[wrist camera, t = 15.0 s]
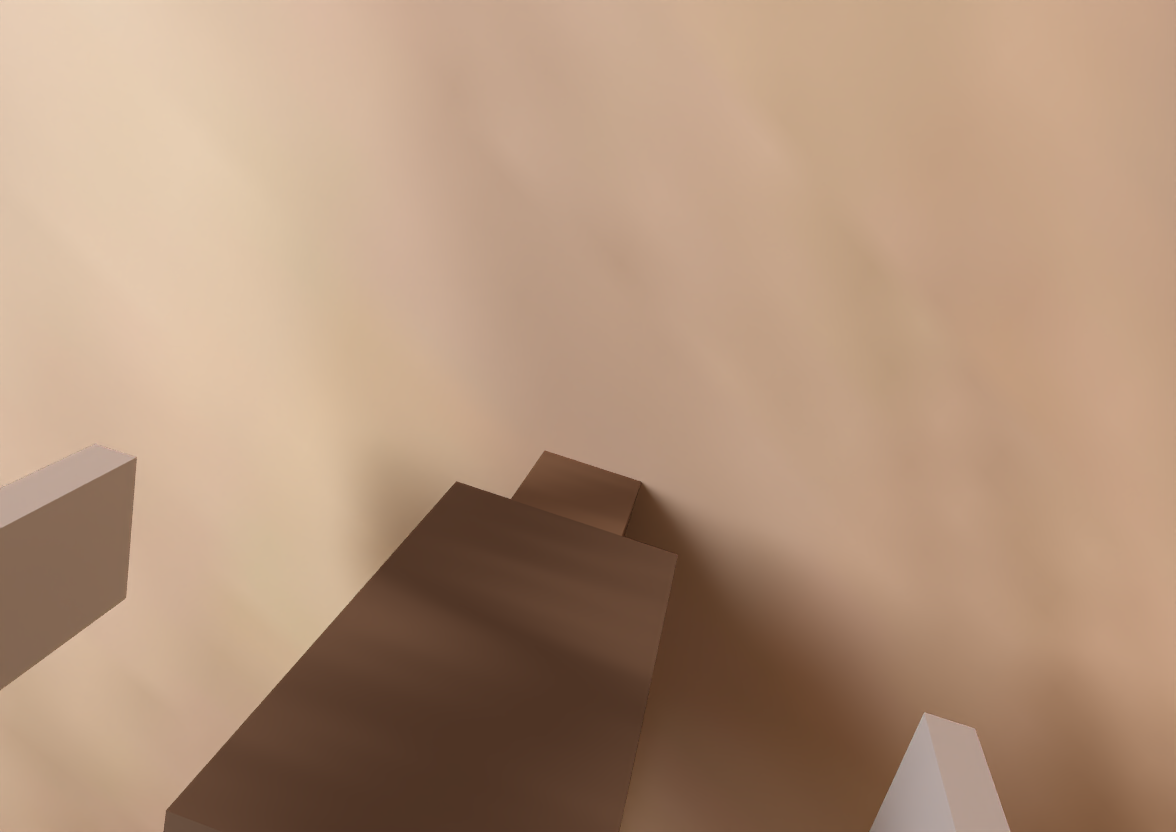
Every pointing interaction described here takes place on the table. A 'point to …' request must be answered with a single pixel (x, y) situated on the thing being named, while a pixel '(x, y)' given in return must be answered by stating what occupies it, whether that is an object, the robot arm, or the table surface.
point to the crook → (464, 678)
